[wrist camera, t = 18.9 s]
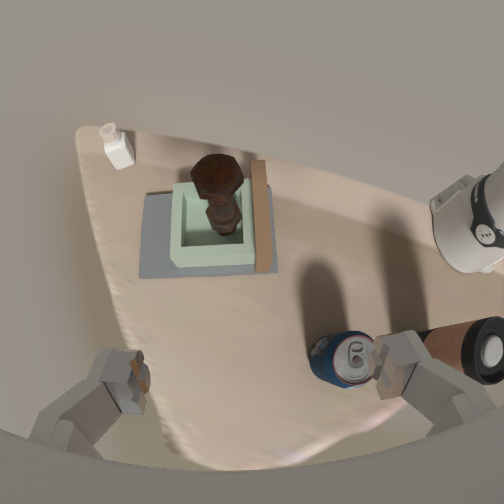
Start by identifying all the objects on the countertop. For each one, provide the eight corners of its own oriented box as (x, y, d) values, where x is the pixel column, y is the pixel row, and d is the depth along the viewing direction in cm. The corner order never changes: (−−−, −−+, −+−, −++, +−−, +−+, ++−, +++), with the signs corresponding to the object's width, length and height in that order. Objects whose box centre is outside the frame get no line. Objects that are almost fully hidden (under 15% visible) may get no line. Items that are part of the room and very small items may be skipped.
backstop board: (141, 278, 46) (118, 263, 37) (146, 198, 50) (129, 170, 42) (277, 272, 46) (283, 255, 38) (270, 190, 51) (273, 159, 42)
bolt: (203, 216, 46) (185, 160, 32) (234, 205, 47) (228, 145, 33) (217, 250, 45) (202, 204, 30) (249, 237, 45) (249, 186, 31)
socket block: (177, 267, 45) (169, 258, 41) (180, 198, 49) (173, 183, 44) (255, 264, 46) (255, 253, 41) (251, 194, 49) (251, 178, 44)
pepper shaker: (136, 165, 52) (118, 133, 43) (116, 172, 52) (96, 142, 43) (134, 149, 53) (118, 117, 44) (115, 155, 53) (97, 125, 44)
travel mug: (391, 335, 43) (471, 320, 24) (430, 329, 43) (514, 310, 24) (393, 382, 41) (473, 393, 22) (432, 374, 41) (517, 376, 22)
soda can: (351, 379, 41) (384, 388, 30) (306, 381, 41) (326, 392, 30) (353, 334, 43) (385, 328, 32) (308, 335, 43) (328, 329, 32)
